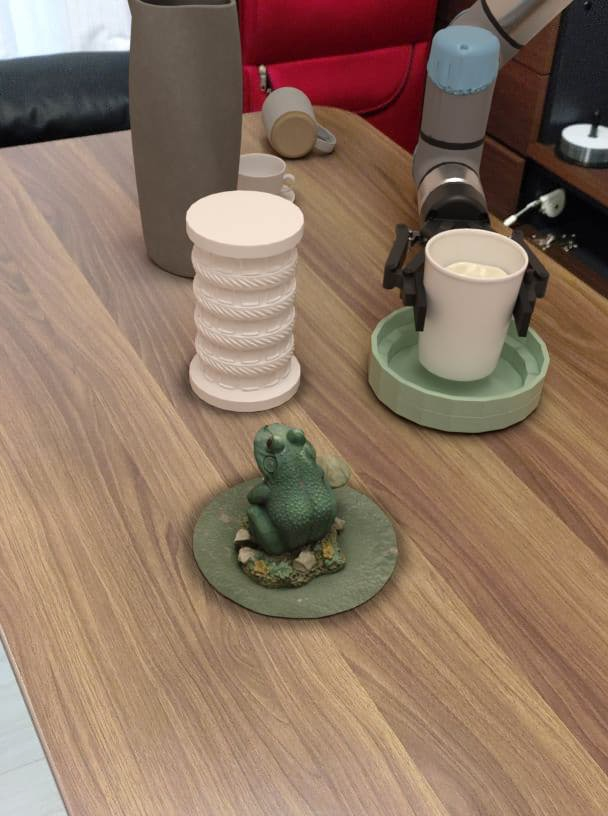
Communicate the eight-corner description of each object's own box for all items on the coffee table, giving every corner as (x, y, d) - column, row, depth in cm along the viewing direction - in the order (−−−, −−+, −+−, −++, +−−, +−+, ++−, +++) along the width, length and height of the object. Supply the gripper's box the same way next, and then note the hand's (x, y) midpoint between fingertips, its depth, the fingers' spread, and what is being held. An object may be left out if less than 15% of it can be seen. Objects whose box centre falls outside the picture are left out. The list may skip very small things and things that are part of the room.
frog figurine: (334, 454, 94) (342, 352, 86) (437, 577, 83) (458, 473, 75) (161, 508, 87) (152, 403, 79) (248, 649, 76) (248, 544, 68)
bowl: (526, 340, 110) (535, 305, 107) (552, 441, 97) (562, 405, 94) (365, 332, 109) (369, 296, 106) (369, 432, 96) (374, 395, 93)
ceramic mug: (269, 162, 140) (271, 107, 135) (260, 139, 146) (261, 85, 141) (340, 160, 142) (345, 107, 137) (329, 137, 148) (333, 85, 142)
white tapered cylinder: (397, 371, 99) (411, 263, 90) (426, 324, 105) (442, 219, 97) (490, 396, 96) (514, 288, 88) (514, 347, 103) (539, 242, 95)
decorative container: (193, 415, 97) (186, 249, 85) (185, 350, 105) (177, 190, 93) (308, 408, 99) (317, 244, 86) (291, 345, 107) (297, 186, 94)
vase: (244, 287, 115) (243, 10, 94) (139, 287, 114) (115, 7, 93) (241, 237, 124) (241, -26, 103) (144, 237, 123) (124, -30, 102)
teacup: (212, 209, 129) (211, 174, 126) (232, 178, 136) (232, 144, 133) (285, 220, 128) (286, 185, 125) (302, 188, 135) (303, 154, 132)
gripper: (543, 249, 112) (578, 361, 96) (352, 239, 111) (355, 349, 95) (558, 186, 106) (597, 293, 90) (357, 175, 106) (361, 280, 90)
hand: (473, 322), depth 93 cm, fingers closed on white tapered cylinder, 9 cm apart
